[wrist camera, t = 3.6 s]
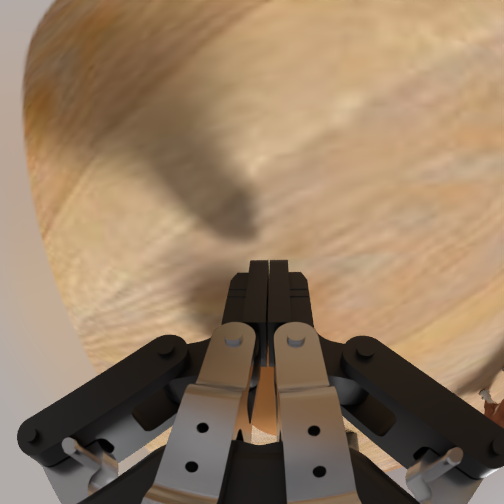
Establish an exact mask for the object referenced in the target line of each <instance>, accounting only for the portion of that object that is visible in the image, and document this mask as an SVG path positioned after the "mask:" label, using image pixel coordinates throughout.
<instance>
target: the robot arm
mask: <svg viewBox="0 0 504 504" xmlns="http://www.w3.org/2000/svg"><path fill="white" fill-rule="evenodd" d="M268 351H269V367H274V397H275V412H276V429H277V442H275V443H270V444H265V445H254V444H251V433H252V424H253V418H254V412H255V407H256V400H257V394H258V388H259V380H260V374H261V367H267V354H268ZM342 416H343V417H345V418H346V419H347V420H348V421H349V422H350V423H351V424H353V425H354V426H355V427H356V428H357V429H358V430H360V431H361V432H362V433H363V434H364V435H366V436H367V437H368V438H369V439H370V440H371V441H373V442H374V443H375V444H376V445H378V446H379V447H380V448H381V449H382V450H384V451H385V452H386V453H387V454H389V455H390V456H391V457H392V458H394V459H395V460H396V461H397V462H399V463H400V464H401V465H402V466H404V467H405V468H406V469H408V470H407V473H406V485H407V487H408V489H409V490H410V491H411V492H412V493H413V494H414V496H415V498H413V497H412V496H411V495H410V494H409V493H407V492H406V491H405V490H404V489H403V488H401V487H400V486H399V485H398V484H397V483H396V482H394V481H393V480H392V479H391V478H390V477H389V476H388V475H386V474H385V473H384V472H383V471H382V470H381V469H380V468H379V467H377V466H376V465H375V464H374V463H373V462H372V461H371V460H370V459H369V458H367V457H366V456H365V455H363V454H362V453H360V452H359V451H357V450H355V449H353V448H350V447H348V442H347V437H346V432H345V427H344V422H343V417H342ZM172 425H173V427H172V430H171V433H170V436H169V439H168V442H167V444H166V445H164V446H162V447H160V448H158V449H156V450H154V451H153V452H152V453H150V454H149V455H148V456H146V457H145V458H144V459H142V460H141V461H140V462H138V463H137V464H136V465H134V466H133V467H131V468H130V469H129V470H127V471H126V472H124V473H123V474H122V475H120V476H119V477H118V463H119V462H121V461H122V460H124V459H125V458H127V457H128V456H130V455H131V454H133V453H134V452H136V451H137V450H139V449H140V448H142V447H143V446H145V445H146V444H147V443H149V442H150V441H152V440H153V439H154V438H156V437H157V436H159V435H160V434H161V433H163V432H164V431H166V430H167V429H168V428H170V427H171V426H172ZM17 440H18V445H19V447H20V448H21V450H22V451H23V452H24V453H25V454H27V455H28V456H30V457H31V458H33V459H34V460H36V461H37V462H38V463H39V464H40V465H41V466H42V467H43V469H44V471H45V473H46V475H47V477H48V479H49V481H50V483H51V485H52V487H53V489H54V491H55V493H56V495H57V496H58V498H59V500H60V502H61V503H62V504H467V503H468V502H469V500H470V499H471V497H472V496H473V494H474V493H475V491H476V490H477V488H478V486H479V485H480V483H481V482H482V480H483V479H484V478H485V477H486V476H488V475H490V474H491V473H493V472H495V471H496V470H498V469H499V468H501V467H503V466H504V429H503V428H502V427H501V426H499V425H498V424H496V423H495V422H494V421H492V420H491V419H489V418H488V417H486V416H485V415H484V414H482V413H481V412H479V411H478V410H476V409H475V408H474V407H472V406H471V405H469V404H468V403H466V402H465V401H464V400H462V399H461V398H459V397H458V396H456V395H455V394H454V393H452V392H451V391H449V390H448V389H447V388H445V387H444V386H442V385H441V384H439V383H438V382H437V381H435V380H434V379H432V378H431V377H429V376H428V375H427V374H425V373H424V372H422V371H421V370H419V369H418V368H417V367H415V366H414V365H412V364H411V363H410V362H408V361H407V360H405V359H404V358H402V357H401V356H400V355H398V354H397V353H395V352H394V351H392V350H391V349H390V348H388V347H387V346H385V345H384V344H382V343H381V342H380V341H378V340H377V339H375V338H372V337H369V336H356V337H353V338H351V339H350V340H348V341H347V342H346V343H345V344H342V343H337V342H333V341H329V340H327V339H325V338H323V337H322V336H320V335H319V334H318V333H317V332H316V330H315V328H314V325H313V317H312V310H311V303H310V298H309V290H308V282H307V279H306V278H305V277H304V275H303V274H302V273H301V272H288V260H270V271H269V262H268V260H251V261H250V267H249V273H237V274H236V275H235V276H234V277H233V278H232V280H231V282H230V286H229V291H228V296H227V300H226V305H225V310H224V315H223V319H222V324H221V326H219V327H218V328H217V329H216V330H215V331H214V332H213V335H212V337H211V338H209V339H207V340H204V341H200V342H196V343H190V344H186V342H185V341H184V340H183V339H182V338H181V337H179V336H176V335H163V336H160V337H157V338H156V339H154V340H152V341H151V342H149V343H148V344H146V345H145V346H143V347H142V348H140V349H139V350H137V351H136V352H134V353H132V354H131V355H129V356H128V357H126V358H125V359H123V360H122V361H120V362H118V363H117V364H115V365H114V366H112V367H111V368H109V369H108V370H106V371H104V372H103V373H101V374H100V375H98V376H96V377H95V378H93V379H92V380H90V381H89V382H87V383H85V384H84V385H82V386H81V387H79V388H77V389H76V390H74V391H73V392H71V393H69V394H68V395H66V396H65V397H63V398H61V399H60V400H58V401H57V402H55V403H53V404H52V405H50V406H49V407H47V408H45V409H43V410H42V411H40V412H39V413H37V414H35V415H34V416H32V417H30V418H29V419H27V420H26V421H24V422H23V423H22V425H21V426H20V428H19V430H18V434H17Z"/></svg>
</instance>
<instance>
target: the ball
mask: <svg viewBox="0 0 504 504" xmlns="http://www.w3.org/2000/svg"><path fill="white" fill-rule="evenodd" d="M252 425H254V426H255V427H256V428H258V429H259V430H261V431H263V432H265V433H268V434H271V435H275V436H277V429H276V412H275V397H274V367H269V351H268V354H267V367H261V374H260V380H259V388H258V394H257V400H256V407H255V412H254V418H253V424H252Z"/></svg>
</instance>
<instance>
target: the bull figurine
mask: <svg viewBox="0 0 504 504" xmlns="http://www.w3.org/2000/svg"><path fill="white" fill-rule="evenodd" d="M502 371H504V367H503V368H502ZM479 395H481V396H483V397H482V400H485V404H484V408H485V413H484V415H485V416H486V417H488V418H489V419H491V420H492V421H494V422H495V423H496V424H498V425H499V426H501V427H502V428H503V429H504V399H503V400H502V402H501V403H499V404H497V403H496V402H494V401H493V400H492V399H491V395H490V394H489V391H488V390H482V391H481V392H480V393H479Z"/></svg>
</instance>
